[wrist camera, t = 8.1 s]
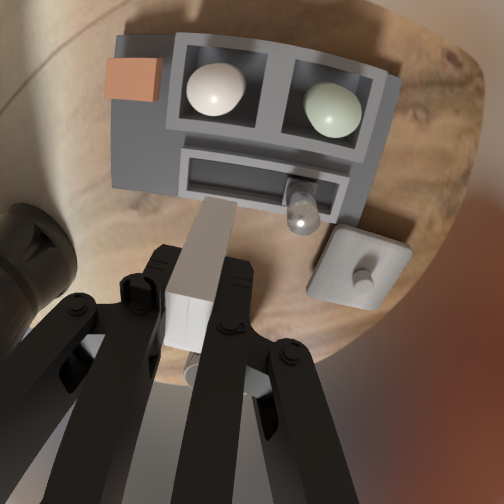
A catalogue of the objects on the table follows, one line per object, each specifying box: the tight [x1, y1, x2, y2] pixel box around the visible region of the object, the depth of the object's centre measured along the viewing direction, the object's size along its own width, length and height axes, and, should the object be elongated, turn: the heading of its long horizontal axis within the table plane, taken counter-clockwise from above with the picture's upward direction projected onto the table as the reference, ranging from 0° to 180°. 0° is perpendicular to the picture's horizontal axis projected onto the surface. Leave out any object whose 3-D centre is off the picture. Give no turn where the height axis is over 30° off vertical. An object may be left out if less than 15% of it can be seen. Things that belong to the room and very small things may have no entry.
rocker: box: [105, 56, 163, 102], centre depth 22 cm, size 5×4×1 cm
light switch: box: [306, 224, 412, 311], centre depth 34 cm, size 10×10×5 cm
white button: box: [187, 63, 246, 116], centre depth 20 cm, size 4×4×4 cm
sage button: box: [303, 81, 362, 138], centre depth 20 cm, size 4×4×4 cm
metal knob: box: [281, 173, 320, 235], centre depth 27 cm, size 3×3×6 cm
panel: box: [111, 32, 403, 228], centre depth 26 cm, size 26×16×6 cm, turn 81°
